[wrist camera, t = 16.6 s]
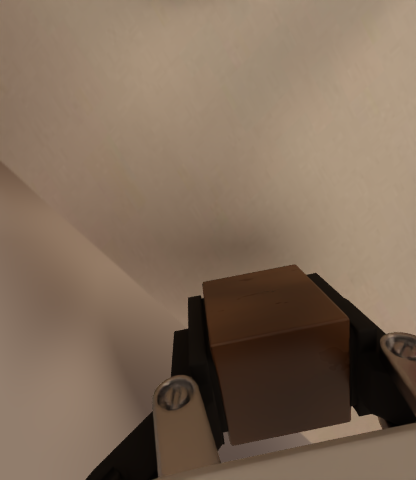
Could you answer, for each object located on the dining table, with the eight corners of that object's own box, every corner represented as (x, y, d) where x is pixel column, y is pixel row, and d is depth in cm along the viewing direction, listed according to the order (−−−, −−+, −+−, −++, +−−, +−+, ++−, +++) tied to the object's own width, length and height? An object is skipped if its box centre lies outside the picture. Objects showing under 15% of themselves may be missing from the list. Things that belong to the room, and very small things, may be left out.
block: (217, 358, 12) (230, 447, 9) (201, 281, 11) (209, 345, 7) (301, 341, 13) (352, 423, 9) (295, 263, 11) (351, 317, 7)
